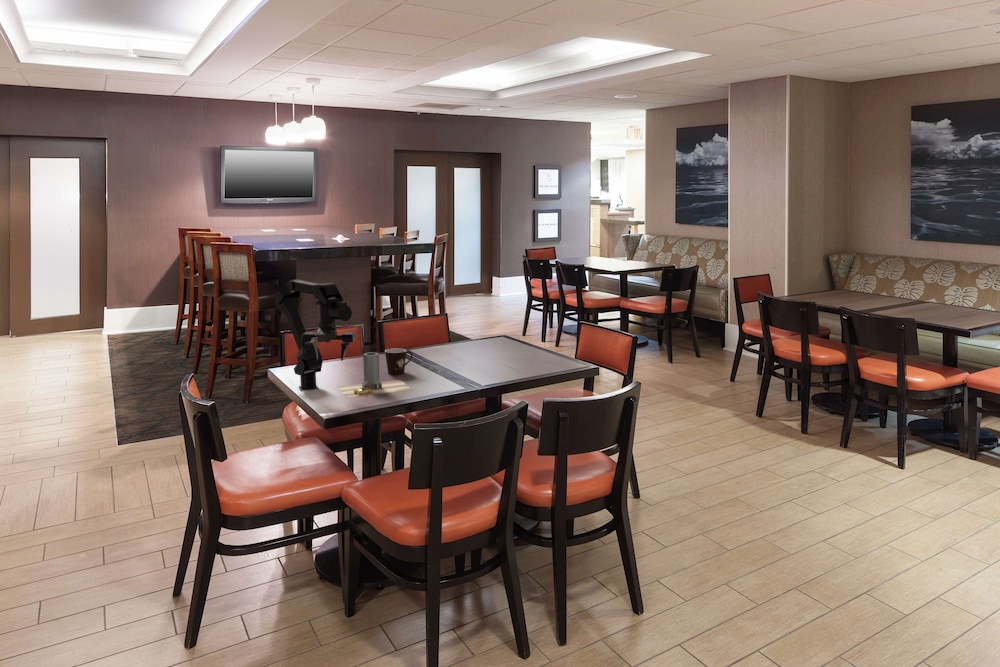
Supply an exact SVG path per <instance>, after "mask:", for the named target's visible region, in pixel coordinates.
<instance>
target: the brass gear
mask: <svg viewBox="0 0 1000 667" xmlns="http://www.w3.org/2000/svg"><path fill="white" fill-rule="evenodd" d="M371 393H372V388H371V389H369V388H368V387H366V388H364V387H363V388H362V387H361V388H358V389H355V390H354V394H357V395H364V396H368V395H367V394H371Z"/></svg>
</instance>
